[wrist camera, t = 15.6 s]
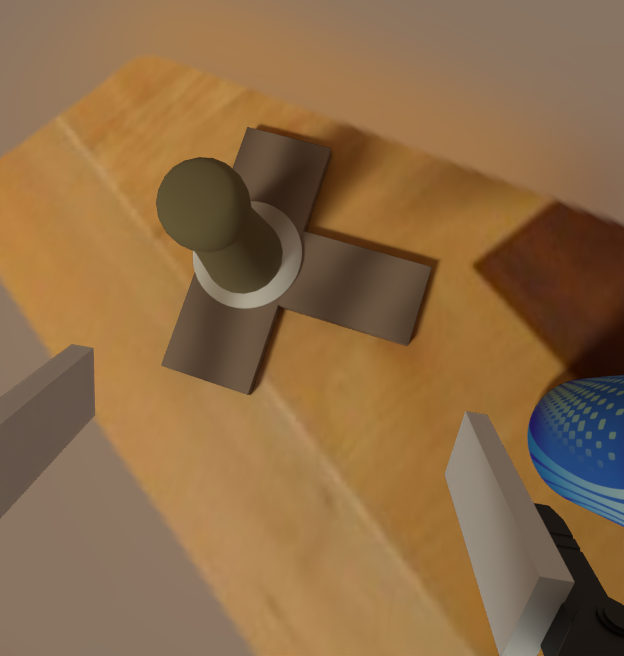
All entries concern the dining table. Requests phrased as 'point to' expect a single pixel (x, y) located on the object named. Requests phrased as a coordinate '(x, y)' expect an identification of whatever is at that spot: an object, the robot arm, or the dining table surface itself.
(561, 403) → the beer can
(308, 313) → the walnut T board
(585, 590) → the robot arm
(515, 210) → the dining table surface
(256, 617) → the dining table surface
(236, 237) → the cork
